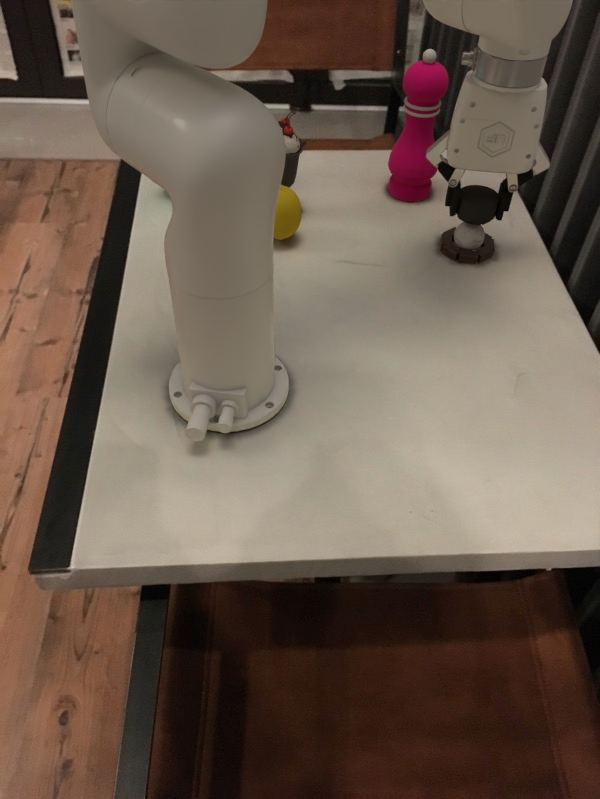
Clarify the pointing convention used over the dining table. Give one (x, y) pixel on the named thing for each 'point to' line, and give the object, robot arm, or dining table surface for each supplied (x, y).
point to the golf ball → (469, 236)
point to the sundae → (290, 151)
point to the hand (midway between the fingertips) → (475, 211)
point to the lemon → (286, 213)
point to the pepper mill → (417, 129)
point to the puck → (477, 204)
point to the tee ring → (466, 255)
